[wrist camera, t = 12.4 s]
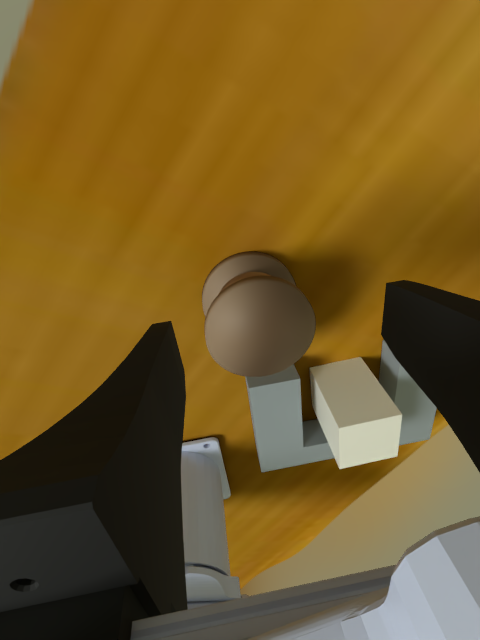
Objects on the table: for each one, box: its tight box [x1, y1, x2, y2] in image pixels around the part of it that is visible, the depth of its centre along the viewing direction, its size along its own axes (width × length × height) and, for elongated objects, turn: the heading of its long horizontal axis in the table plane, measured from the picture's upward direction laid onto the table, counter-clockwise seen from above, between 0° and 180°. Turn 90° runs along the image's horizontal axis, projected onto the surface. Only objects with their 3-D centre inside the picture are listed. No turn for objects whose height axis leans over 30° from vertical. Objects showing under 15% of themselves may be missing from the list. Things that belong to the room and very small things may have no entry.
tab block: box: [309, 357, 402, 469], centre depth 25 cm, size 4×4×6 cm
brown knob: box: [202, 252, 316, 377], centre depth 21 cm, size 6×6×4 cm
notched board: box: [245, 340, 437, 472], centre depth 27 cm, size 14×9×2 cm, turn 97°
